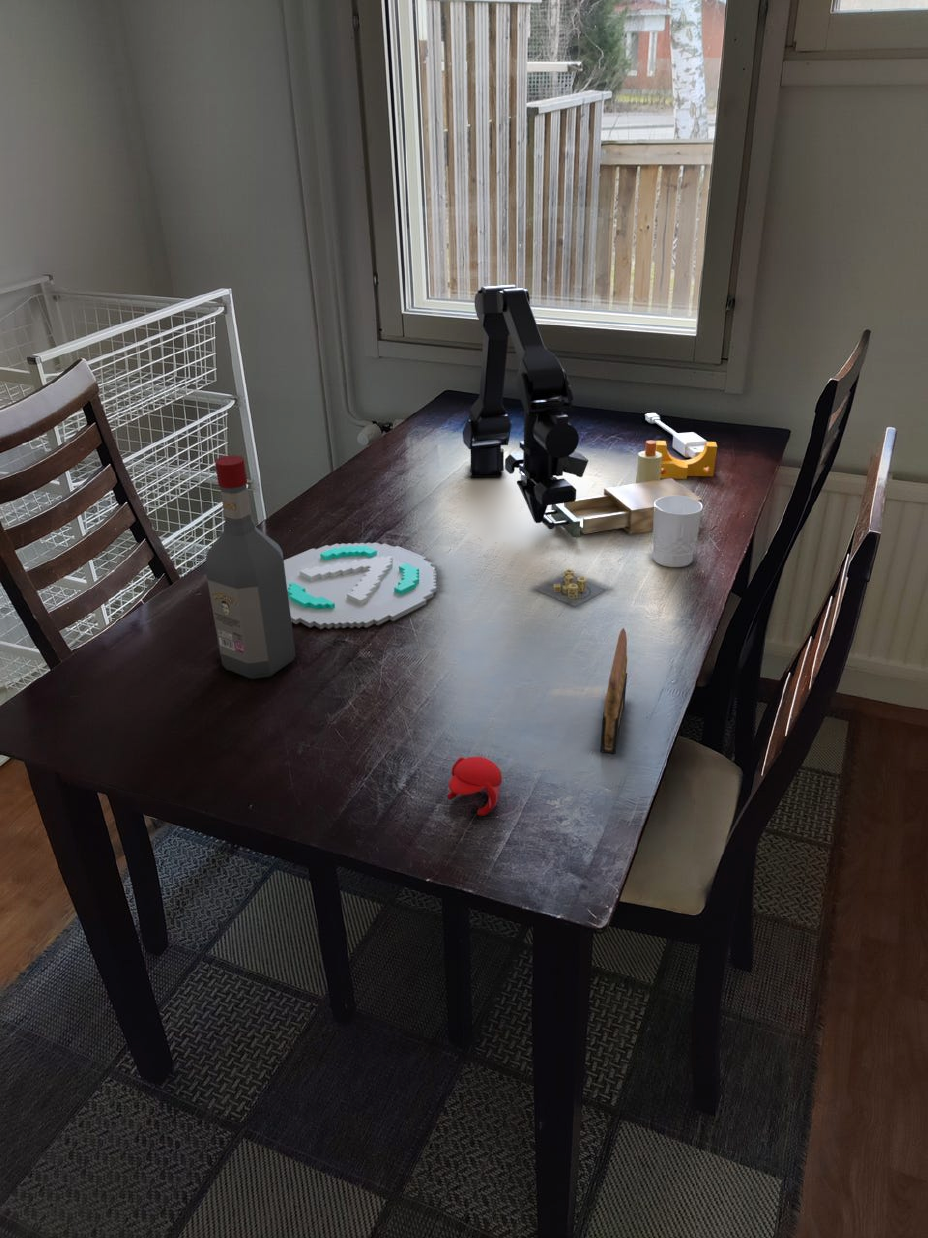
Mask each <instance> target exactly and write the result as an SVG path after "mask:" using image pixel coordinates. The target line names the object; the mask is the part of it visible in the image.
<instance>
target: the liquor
mask: <svg viewBox="0 0 928 1238" xmlns="http://www.w3.org/2000/svg"><path fill="white" fill-rule="evenodd" d="M214 464H215V471H216V478H217V484H218V487H219V488H220V494H221V502H222V509H223V510H222V511H223V516H224V523H223V531H222V533H221V534H220V535H219V536H218V538H217V539H216V540H215V542H214V543H213V544H212V546H211V547H210V548H209V549H208V550H207V553H206V557H205V575H206V579H207V587H208V592H209V598H210V604H211V608H212V609H211V610H212V615H213V620H214V626H215V631H216V638H217V643H218V648H219V649H218V650H219V654H220V660H221V665H222V666H223V667H224V669H225V670H227V671H230V672H232V673H235V674H237V675H240V676H243V677H245V678H248V679H251V680H256V679H262V678H270V677H272V676H273V675H274V674H276V673H277V672H279V671H280V670H281V669H283V668H285V667H286V666H288V665H289V664H291V663H292V662H293V661H294V659H295V657H296V648H295V647H296V645H295V639H294V631H293V622H291V615H290V607H289V599H288V591H287V583H286V575H285V568H284V560H285V559H284V554H283V549H282V548H281V547H280V545H279V543H277V542H276V541H275V540H274V539H272V538H271V537H270V536H268V535H267V534H265V533H264V532H263V531H261V529H259V528H257V527H256V525H255V521H254V519H253V517H252V513H251V506H250V499H249V492H248V485H247V484H248V477H247V470H246V465H245V458H244V457H243V456H241V455H237V454H236V455H234V454H231V455H224V456H220V457H218V458H216V459H215V460H214Z"/></svg>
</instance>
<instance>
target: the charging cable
mask: <svg viewBox="0 0 928 1238" xmlns="http://www.w3.org/2000/svg"><path fill="white" fill-rule="evenodd" d="M644 416H645V419H644V420H645V421H647V422H648V423H649V424H657V425H658V426H659V427H661V428H662V429H663V430H664V431H667V432H668V433H669V434H671V435H672V445H671V446H672V447H671V448H673V450H675V451H677V452H678V453H679V454H681V455H682V457H684V458H691V459H693V458H695V457H696V456H698V455H699V454H700V453H701V452H702V451H703V449H704V447H705V444H706V442H708V441H707V440H706V439H704V438H703V437H701V435H698V434H697V433H696V432H694V431H691V432H679V433H678V432H676V430H674V429H673V428H671V427H669V426H668V425H666V424H665V423H664V422H663V421H661V416H660V415H659V414H657V413H656V412H650V413H645V414H644Z"/></svg>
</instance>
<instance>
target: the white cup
mask: <svg viewBox="0 0 928 1238" xmlns="http://www.w3.org/2000/svg"><path fill="white" fill-rule="evenodd" d="M703 509H704V504H702V503H700V502H699V501H697V500H695V499H693V498H690V497H685V496H665V497H661V498H659V499H657V500H656V501H655V502H654V518H653V530H652V560H653V561H654V562H655V563H656V564H658V565H661V566H664V567H669V568H683V567H687V566H689V565H690V564H692V563H693V561H694V554H695V548H696V546H697V541H698V538H699V532H700V526H701V520H702V515H703Z"/></svg>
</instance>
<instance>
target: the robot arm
mask: <svg viewBox="0 0 928 1238" xmlns="http://www.w3.org/2000/svg"><path fill="white" fill-rule="evenodd" d="M530 304H531V299H530V293H529V291H528V289H524V288H522V287H520V288H519V287H518V288H517V286H516V285H515V284H508V285H506V284H505V285H496V286H495V285H491V286H482V287H480V289H478V290H477V293H476V294H475V295H474V311H475V313H476V317H477V319H478V321H479V323H480V325H481V326H482V328H483V339H482V352H481V353H482V354H481V366H480V367H481V368H480V378H479V379H480V380H479V381H480V382H479V393H478V398H477V399H476V401H475V402H474V403H473V404H472V406H471V407H470V408H469V415H468V419H467V420H466V422H465V425H464V428H463V430H462V441H463V444H464V445H465V446H466V447H467V449H468V450H470V468H469V469H470V470H469V477H470V478H501V477H502V472H504V470H505V471H506V472H507V473H509V475H512V474H514V473H515V468H516V469H518V470H519V471H518V472H519V474H520V479H519V480H516V485H517V487H518V489H519V490H520V492H521V494H522V497H523V499H524V501H525V503H526V506H527V508H528V510H529V513H530V515H531V517H532V519H533V522H534V523H536V524H540V523H542V519H543V517H544V514H545V512H546V511H547V509H548V506H552V505H554V504H560V503H561V504H564V503H567V502H574V501H575V500H576V499H577V489H576V488H575V487H574V486H573V485H572V484H571V483H570V482H569V481H568V480H566V479H565V478H557V477H562V476H563V475H564V473H566V474H570V475H574V476H576V477H577V478H583V477H584V474H585V471H586V468H587V466H588V463H589V459H588V458H587V457H585V456H584V455H583V454H582V453H580V452H578V451H576V450H577V448H578V445H579V442H580V436H579V433H578V430H577V429H576V427H574V426H573V425H572V424H571V423H570V422H569V416H568V415H567V414H566V413H565V412H566V411H567V412H568V411H573V409H574V407H573V401H574V395H573V392H572V387H571V385H570V384H571V383H570V381H569V378H568V376H567V373H566V371H565V369H564V367H563V366H562V364H561V362H560V360H559V358H558V356H557V355H555V354H554V353H552V352H551V351H549V350H548V349H547V347H546V346H545V343H544V341H543V340H544V339H543V338H542V335H541V332H540V330H539V327H538V324H537V321H536V319H535V315H534V313H533V309H532V307H531V305H530ZM509 337H510V339H511V341H512V344H513V347H514V350H515V353H516V356H517V359H518V362H519V368H518V372H517V376H516V386H517V391H518V395H519V398H520V401H521V405H522V407H523V409H524V410H523V440H521V441H519V448H520V449H521V450H522V451H523V452H516V453H515V452H514V453H509V454H508V455H507V457H506V458H505V455H504V454H505V453H504V452H505V451H504V448H502V446H509V443H510V437H511V431H512V422H511V418H510V416H509V414H508V411H507V410H506V408H505V406H504V405H503V401H504V400H503V399H504V389H505V381H506V380H505V379H506V368H507V367H506V366H507V358H508V348H509V347H508V346H509ZM560 397H561V399H559V398H560ZM555 399H556V400H555ZM547 400H548V401H547Z"/></svg>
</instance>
